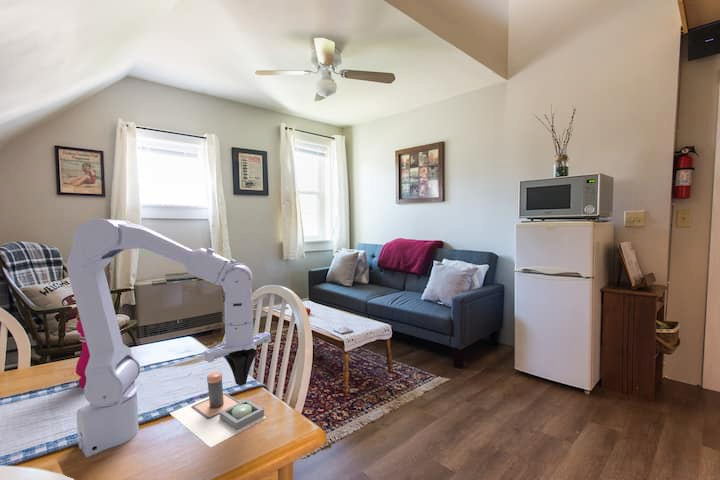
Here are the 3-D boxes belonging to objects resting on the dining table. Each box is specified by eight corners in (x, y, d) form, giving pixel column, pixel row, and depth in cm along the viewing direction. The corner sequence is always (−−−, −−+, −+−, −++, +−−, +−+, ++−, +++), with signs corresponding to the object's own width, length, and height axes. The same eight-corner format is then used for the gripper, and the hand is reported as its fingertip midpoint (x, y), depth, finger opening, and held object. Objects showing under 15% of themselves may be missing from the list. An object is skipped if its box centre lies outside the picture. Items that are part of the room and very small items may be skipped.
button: (238, 424, 70) (238, 416, 70) (228, 417, 73) (228, 410, 73) (255, 415, 74) (255, 408, 73) (245, 409, 76) (244, 402, 76)
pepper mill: (70, 386, 90) (65, 312, 89) (100, 374, 97) (96, 305, 95) (87, 391, 87) (83, 314, 86) (116, 379, 94) (112, 308, 93)
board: (208, 456, 62) (208, 443, 62) (164, 417, 75) (163, 406, 75) (271, 421, 73) (271, 410, 73) (223, 392, 86) (223, 383, 86)
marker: (206, 405, 78) (204, 376, 77) (220, 399, 80) (218, 371, 80) (212, 410, 76) (210, 380, 75) (226, 404, 78) (224, 375, 78)
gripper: (216, 334, 64) (218, 403, 65) (278, 317, 75) (279, 376, 76) (198, 327, 68) (200, 392, 69) (260, 311, 80) (261, 368, 80)
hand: (240, 383), depth 73 cm, fingers closed
